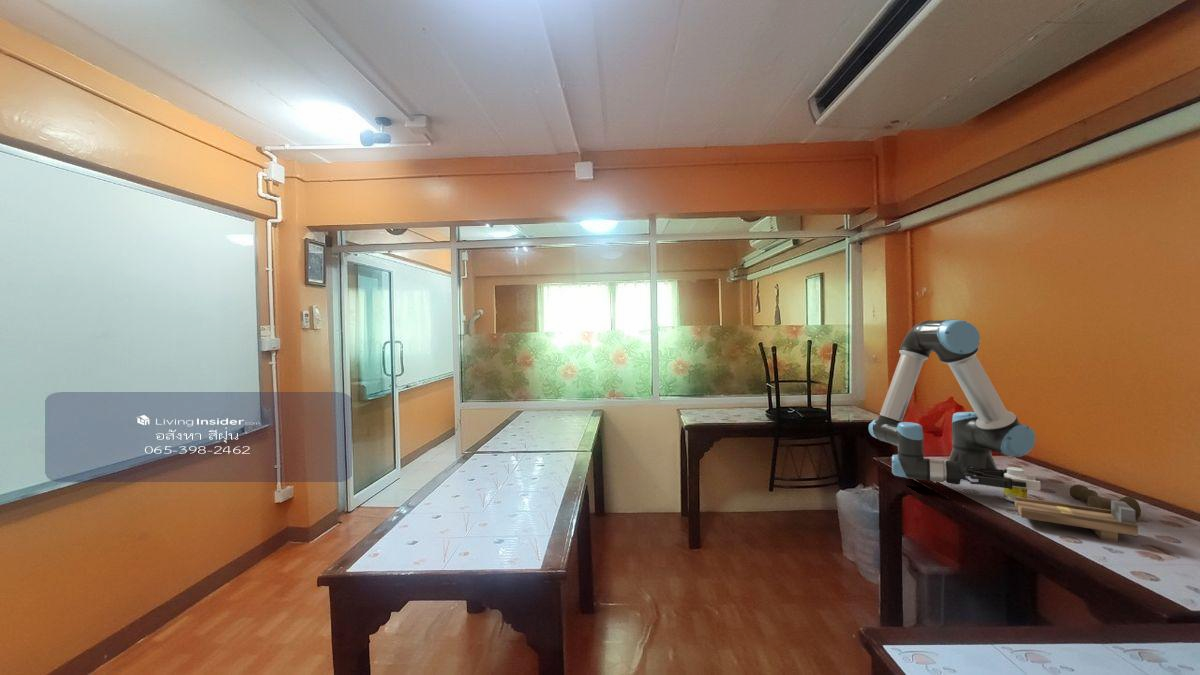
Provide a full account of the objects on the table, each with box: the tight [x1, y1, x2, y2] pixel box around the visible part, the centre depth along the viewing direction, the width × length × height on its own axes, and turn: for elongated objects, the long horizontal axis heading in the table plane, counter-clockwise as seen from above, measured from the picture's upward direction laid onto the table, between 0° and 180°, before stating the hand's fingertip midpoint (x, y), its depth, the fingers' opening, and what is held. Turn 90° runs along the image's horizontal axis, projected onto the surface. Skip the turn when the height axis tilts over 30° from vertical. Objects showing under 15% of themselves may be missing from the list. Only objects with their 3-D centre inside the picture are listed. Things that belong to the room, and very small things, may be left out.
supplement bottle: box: [1003, 466, 1028, 503], centre depth 144 cm, size 6×6×10 cm
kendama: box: [1069, 484, 1142, 519], centre depth 137 cm, size 6×10×20 cm
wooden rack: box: [1014, 497, 1139, 543], centre depth 125 cm, size 10×22×8 cm, turn 56°
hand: (1037, 482), depth 142 cm, fingers closed on supplement bottle, 6 cm apart
